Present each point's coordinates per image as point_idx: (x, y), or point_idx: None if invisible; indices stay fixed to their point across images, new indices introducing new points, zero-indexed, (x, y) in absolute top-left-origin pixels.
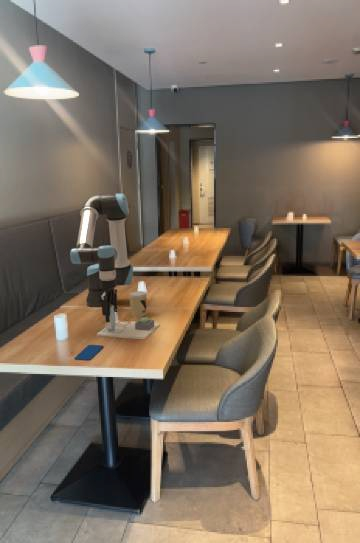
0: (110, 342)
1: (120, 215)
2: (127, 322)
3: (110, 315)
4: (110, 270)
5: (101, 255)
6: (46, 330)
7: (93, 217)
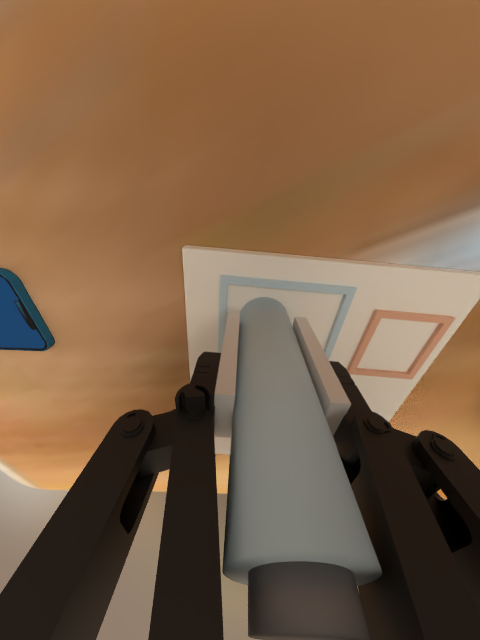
0: (120, 354)
1: None
2: (408, 362)
3: (215, 436)
4: None
5: None
6: None
7: None
